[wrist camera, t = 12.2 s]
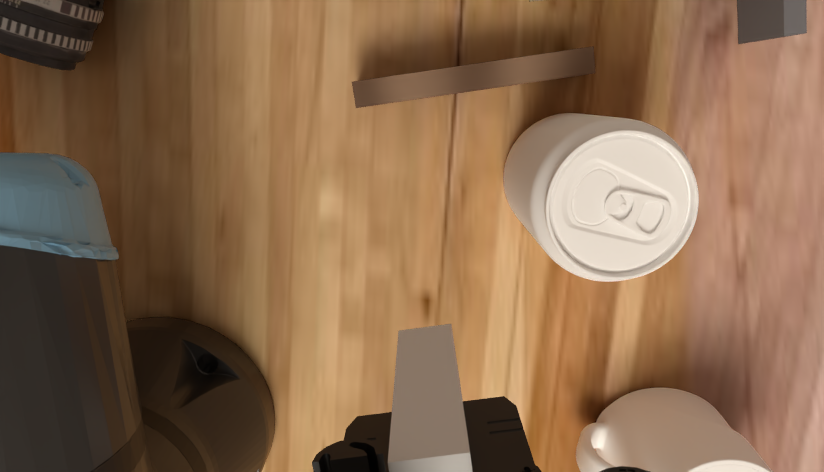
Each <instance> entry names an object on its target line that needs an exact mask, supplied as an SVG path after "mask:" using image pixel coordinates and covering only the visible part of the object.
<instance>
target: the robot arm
mask: <svg viewBox="0 0 824 472" xmlns="http://www.w3.org/2000/svg"><path fill="white" fill-rule="evenodd" d="M116 259H119V254H118V250H117V248H116V247H114V246H113V245H112V242H111V238H110V234H109V230H108V226H107V222H106V218H105V214H104V211H103V207H102V202H101V198H100V193H99V189H98V186H97V184H96V182H95V180H94V178H93V177H92V175H91V174H90V173H89V172H88V170H86V169H85V168H84V167H83V166H82V165H80V164H79V163H78V162H76V161H74V160H72V159H70V158H68V157H65V156H61V155H57V154H49V153H2V152H0V472H261V471H262V469H263V466H264V464H265V462H266V459H267V457H268V455H269V452H270V449H271V446H272V442H273V437H274V428H275V417H274V408H273V403H272V399H271V395H270V392H269V389H268V387H267V385H266V382H265V380H264V379H263V377H262V375H261V373H260V372H259V370H258V368H257V367H256V366H255V364H254V363H253V362H252V360H251V359H250V358H249V357H248V356H247V355H246V354H245V353H244V352H243V351H242V350H241V349H240V348H239V347H238V346H237V345H236V344H234V343H233V342H232V341H230V340H229V339H228V338H226V337H225V336H223V335H221V334H220V333H218V332H216V331H214V330H212V329H210V328H208V327H205V326H203V325H200V324H197V323H195V322H191V321H187V320H183V319H177V318H169V317H151V318H142V319H137V320H133V321H129V322H126V321H125V315H124V309H123V303H122V296H121V290H120V284H119V278H118V272H117V265H116ZM312 465H313V470H314V472H541V470H540V469H539V468H538V466H536V465H535V464H534V461H533V457H532V454H531V451H530V448H529V445H528V442H527V439H526V435H525V432H524V430H523V426H522V423H521V420H520V417H519V413H518V410H517V407H516V405H514V404H513V403H512V402H511V401H509V400H508V399H507V398H505V397H504V396H503V397H495V398H487V399H479V400H471V401H462V394H461V387H460V380H459V374H458V367H457V360H456V353H455V346H454V339H453V333H452V326H451V324H446V325H438V326H431V327H423V328H415V329H408V330H400V331H399V332H398V345H397V357H396V369H395V381H394V393H393V405H392V412H389V413H381V414H373V415H365V416H357V417H356V418H355V420H354V421H353V422H352V423H351V424H350V425H349V426H348V427H347V429H346V433H345V437H344V441H339V442H336V443H334V444H332V445H330V446H327V447H326V448H324V449H323V450H322V451H320V452H319V453H318V454H317V455H316V456H315V458H314V460H313V461H312ZM600 472H650V471H646V470H643V469H640V468H637V467H626V466H619V467H612V468H607V469H604V470H602V471H600Z"/></svg>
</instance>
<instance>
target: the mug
mask: <svg viewBox="0 0 824 472" xmlns="http://www.w3.org/2000/svg"><path fill="white" fill-rule="evenodd" d="M594 448H595V449H596V451H595V449H594ZM576 460H577V464H578V467H579V469H580V471H581V472H600V471H602V470H604V469H607V468H612V467H619V466H626V467H637V468H640V469H643V470H646V471H650V472H773V471H772V470H771V469H770V467H769V466H768V465H767V464H766V462H765V461H764V460H763V459H762V458H761V456H760V455H759V454H758V453H757V451H756V450H755V449H754V448H753V447H752V445H751V444H750V443H749V442H748V441H747V439H746V438H745V437H744V436H742V435H741V434H740V433H738V432H736V431H734V430H732V428H731V427H730V426H729V424H728V423H727V422H726V421H725V419H724V418H723V417H722V416H721V414H720V413H719V412H718V411H717V410H716V408H714V407H713V406H712V405H711V404H710V403H709V402H707V401H706V400H704V399H703V398H701V397H699V396H697V395H695V394H692V393H689V392H686V391H683V390H679V389H673V388H647V389H641V390H637V391H634V392H631V393H628V394H626V395H624V396H622V397H620V398H618V399H617V400H615V401H614V402H613V403H611V404H610V405H609V406H608V407H607V408H605V409H604V410H603V411H602V413H601V414H600V415H599V417H598V419H597V421H596V423H591V424H589V425H587V426H586V427H584V429H583V430H582V432H581V434H580V438H579V442H578V445H577V449H576Z"/></svg>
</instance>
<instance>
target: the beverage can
mask: <svg viewBox="0 0 824 472" xmlns="http://www.w3.org/2000/svg"><path fill="white" fill-rule="evenodd" d="M503 182H504V190H505V195H506V198H507V201H508V203H509V206H510V207H511V209H512V211H513V212H514V214H515V215H516V217H517V218H518V219H519V220H520V222H521V223H522V224H523V225H524V226H525V228H526V229H527V230H528V231H529V232H530V234H531V235H532V236H533V237H534V238H535V240H536V241H537V242H538V243H539V245H540V246H541V247H542V248H543V249H544V251H545V252H546V253H547V254H548V255H549V256H550V257H551V258H552V259H553V260H554V261H555V262H556V263H557V264H558V265H560V266H561V267H562V268H564V269H565V270H567V271H569V272H571V273H573V274H575V275H577V276H580V277H583V278H586V279H590V280H595V281H605V282H612V281H622V280H627V279H632V278H636V277H640V276H643V275H646V274H648V273H650V272H653V271H655V270H656V269H658V268H660V267H661V266H663V265H664V264H666V263H667V262H668V261H669V260H671V259H672V258H673V257H674V256H675V255H676V254H677V253H678V252H679V251H680V249H681V248H682V247H683V245H684V244H685V243H686V241H687V239H688V238H689V236H690V234H691V232H692V229H693V227H694V224H695V221H696V217H697V212H698V203H699V196H698V187H697V183H696V179H695V176H694V172H693V169H692V167H691V164H690V162H689V160H688V158H687V156H686V155H685V153H684V152H683V150H682V149H681V148H680V146H679V145H678V144H677V143H676V142H675V141H674V140H673V139H672V138H671V137H670V136H669V135H667V134H666V133H665V132H663V131H662V130H660V129H658V128H657V127H655V126H653V125H650V124H648V123H645V122H642V121H639V120H634V119H628V118H619V117H609V116H599V115H589V114H578V113H562V114H556V115H552V116H549V117H546V118H544V119H542V120H540V121H538V122H536V123H534V124H533V125H532V126H530V127H529V128H528V129H526V130H525V131H524V132H523V133H522V134H521V135H520V136H519V138H518V139H517V140H516V142H515V143H514V145H513V146H512V148H511V150H510V152H509V154H508V157H507V160H506V163H505V167H504V176H503Z"/></svg>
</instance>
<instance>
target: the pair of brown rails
mask: <svg viewBox="0 0 824 472" xmlns="http://www.w3.org/2000/svg"><path fill="white" fill-rule="evenodd" d="M593 73H595V60H594V47H586V48H579V49H572V50H565V51H559V52H552V53H545V54H538V55H531V56H525V57H518V58H511V59H504V60H497V61H490V62H484V63H477V64H470V65H463V66H456V67H450V68H443V69H436V70H429V71H422V72H416V73H409V74H402V75H395V76H388V77H382V78H375V79H368V80H361V81H354V82H352V86H353V92H354V98H355V105H356V108H359V107H366V106H373V105H380V104H387V103H394V102H401V101H408V100H414V99H421V98H428V97H435V96H442V95H449V94H456V93H463V92H469V91H476V90H483V89H490V88H497V87H504V86H511V85H518V84H525V83H531V82H538V81H545V80H552V79H559V78H566V77H573V76H580V75H587V74H593Z"/></svg>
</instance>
